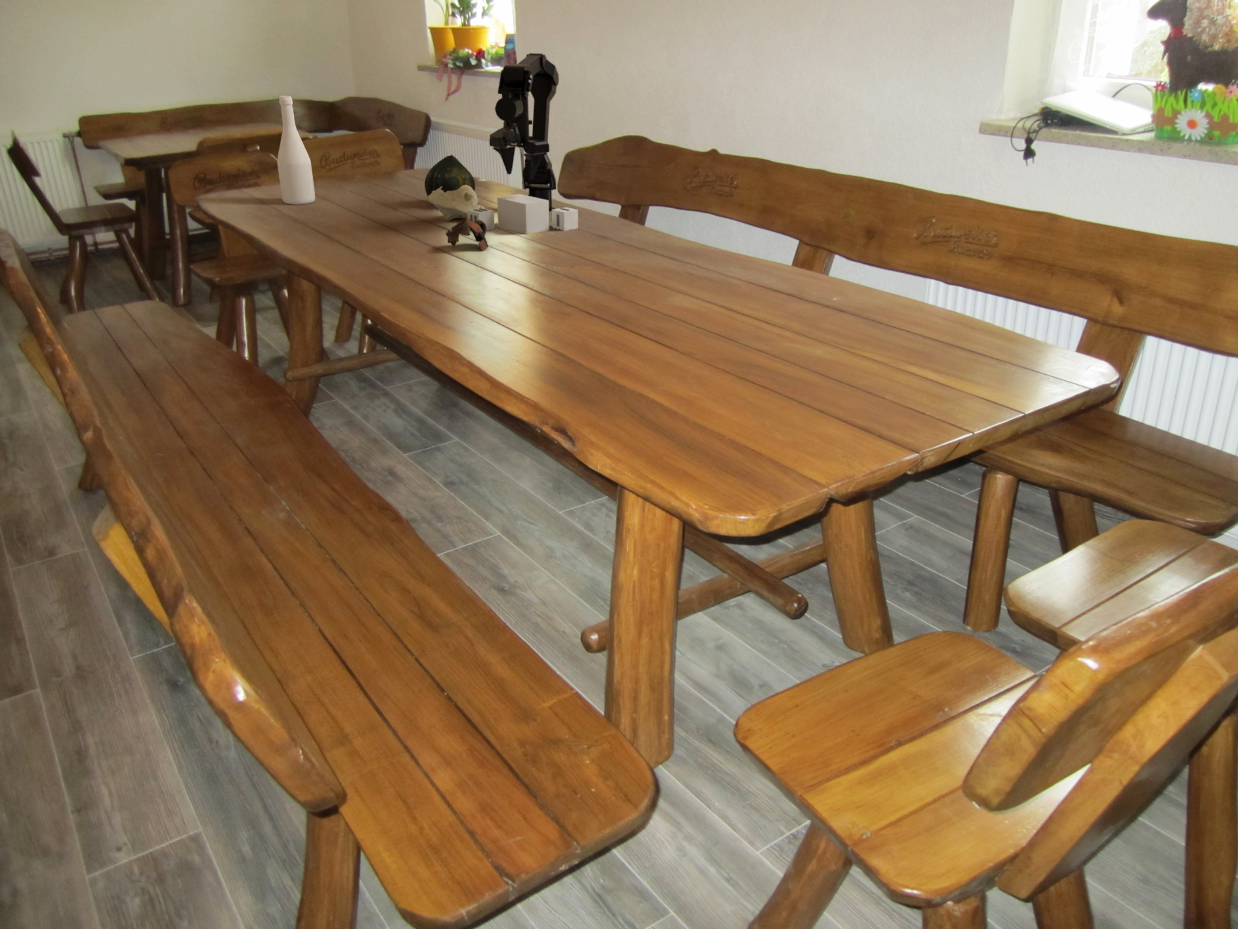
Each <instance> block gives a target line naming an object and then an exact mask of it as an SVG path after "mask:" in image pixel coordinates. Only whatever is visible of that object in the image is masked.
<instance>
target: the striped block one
mask: <svg viewBox="0 0 1238 929" xmlns="http://www.w3.org/2000/svg"><path fill="white" fill-rule="evenodd" d="M552 227H553V228H552ZM551 228H552V229H555V228H556V230H559V229H560V231H564V232H565V231H570V229H571V230H575V229H578V228H579V210H578V209H576V208H575V209H574V208H572V207H567V206H566V207H559V208H555V209H552V210H551Z"/></svg>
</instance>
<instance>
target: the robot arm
mask: <svg viewBox="0 0 1238 929" xmlns="http://www.w3.org/2000/svg"><path fill="white" fill-rule="evenodd" d="M557 70H558V69H557V67H556V65H555V64H554V63H552V62H551V61H550V60H549V59H548V58H547V56H546V54H543V53H533V52H529V53H527V54H526V56H525V57H524V58H523V59H521V61H519V62H518V63H517V64H515V63H514V64H505V65H504V66H503V68H502V69H501V71H500V77H499V83H498V88H497V94H498V95H501V97H500V99H498V100H497V102H496V103H495V105H494V106H495V107H494V110H495V114H496V116H497V118H499V119H500V120H501V121H502V122H503V123H502V124H503V127H501V128H498V129H497V130H495V131H493V132H492V133H491V134H489V138H488V139H489V147H492V149H493V150H494V151H495V152H497V153H498V154H499V155H500V158H501V161H502V164H503V166H504V169H505V171H506V173H507V175H512V172H513V166H514V159H515V153H516V148H521V149H523V151H524V153H523V154H522V155H523V156H524V158H525V159H524V167H523V169H522V180H523V181H522V182H523V188H524V190H528V194H527V196H531V197H535V198H540V199H544V200H549V210H550V211H552V209H556V207H553V202H552V201H553V199H552V196H553V194H552V192H553V191H555V190H557V179H556V175H555V172H554V170H553V164H552V160H550V157H549V156H548V153H549V152H550V144H549V126H550V106H551V101H552V100H553V98H554V97H555V96H556V94H557V86H558V85H559V80H560V78H559V77H560V76H559V72H558V71H557ZM529 93H530V94H531V96H532V97H533V113H532V119H530V117H529ZM530 125H532V130H531V131H532V132H531V135H530Z"/></svg>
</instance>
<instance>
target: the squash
mask: <svg viewBox="0 0 1238 929" xmlns="http://www.w3.org/2000/svg"><path fill="white" fill-rule="evenodd" d="M463 185H468V186H470V187H471V188H472V189H473V190H474V191H476V183H475V179H474V177H473V175H472V173H471V172H470V171H469V170H468V168H467V167H465V166H464V165H463V163H462V162H460V161H459V159H458V158H456V157H455V156H454V155H453V154H450V155H446V156H445V157H443V158H442V159H441V160H439V161H438V162H436V163H435V164H434V165H433V166H432V167H431V168H430V169H429V171H428V172H427V174H426V176H425V179H424V189H425V190H424V191H425V194H426V196H427V197H428V196H429V195H430V194H432V191H436V190H437V189H441V190H443V192H444V193H445V192H447V191H455V190H458V189H459V188H460V187H461V186H463ZM440 187H442V188H440Z"/></svg>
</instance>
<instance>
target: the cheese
mask: <svg viewBox="0 0 1238 929" xmlns="http://www.w3.org/2000/svg"><path fill="white" fill-rule="evenodd" d="M440 188H442V187H440ZM475 191H476V190H475ZM475 191H474V190H473V189H472V188H471V187H470V186H468V185H463V186H461V187H460V188H459V189H458V190H455V191H447V192H445V193H444V192H443V190H441V189H437V190H436V191H432V194H430V195H429V196H427V198H426V200H427V201H428V202H429V203H431V204H432V205H433V206H434V207H435V208H437V209H438V210H439V212H440V213H441V214H442V216H443V218H444V219H445V221H448V220H449V221H451V220H453V219H468V210H472V209H478V208H485V207H484V205H480V204H478V203H479V202H478V196H477V192H475Z"/></svg>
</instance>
